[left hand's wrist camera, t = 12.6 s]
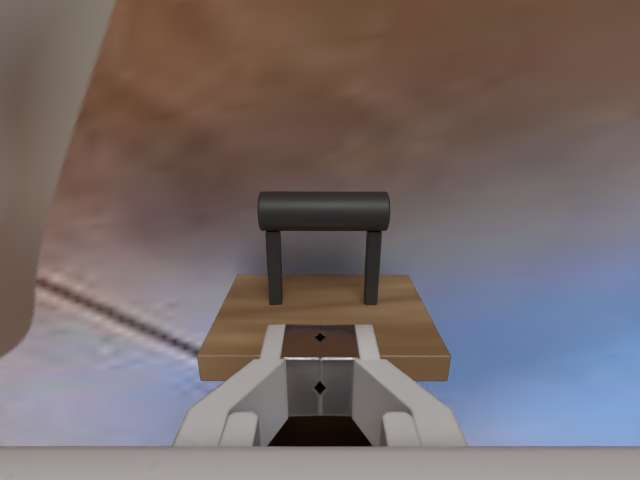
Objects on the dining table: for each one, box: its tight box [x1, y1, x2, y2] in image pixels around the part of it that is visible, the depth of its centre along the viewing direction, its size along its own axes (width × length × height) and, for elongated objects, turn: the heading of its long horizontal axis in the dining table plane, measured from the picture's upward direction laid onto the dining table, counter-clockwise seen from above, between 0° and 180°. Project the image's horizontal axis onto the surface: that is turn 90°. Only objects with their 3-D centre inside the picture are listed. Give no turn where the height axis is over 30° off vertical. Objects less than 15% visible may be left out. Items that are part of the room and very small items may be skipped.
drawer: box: [197, 192, 451, 446], centre depth 19 cm, size 24×10×7 cm, turn 0°
